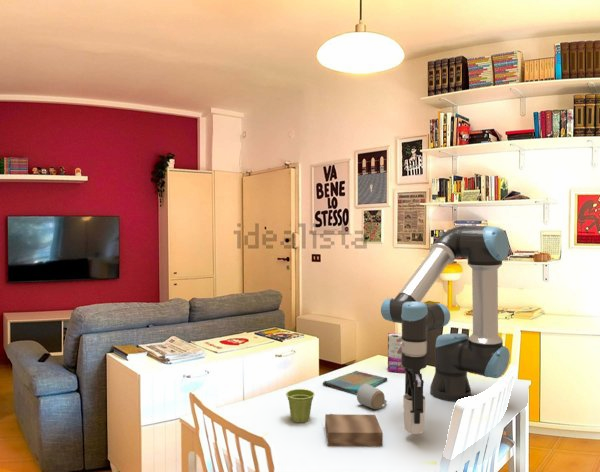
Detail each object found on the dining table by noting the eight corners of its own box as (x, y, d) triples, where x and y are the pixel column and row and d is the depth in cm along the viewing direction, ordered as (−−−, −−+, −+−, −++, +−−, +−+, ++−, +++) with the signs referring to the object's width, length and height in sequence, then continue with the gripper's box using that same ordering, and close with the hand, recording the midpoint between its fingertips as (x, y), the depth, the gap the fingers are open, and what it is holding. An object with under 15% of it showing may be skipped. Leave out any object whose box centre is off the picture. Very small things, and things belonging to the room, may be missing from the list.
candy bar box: (412, 370, 229) (413, 333, 228) (413, 373, 224) (414, 336, 223) (387, 368, 230) (387, 332, 230) (387, 372, 226) (388, 334, 225)
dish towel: (321, 387, 206) (321, 380, 206) (354, 373, 224) (354, 368, 224) (356, 397, 195) (356, 390, 195) (388, 382, 213) (388, 376, 213)
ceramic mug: (372, 412, 178) (372, 391, 178) (356, 405, 184) (356, 385, 184) (391, 406, 185) (392, 386, 185) (375, 400, 191) (376, 380, 191)
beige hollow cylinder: (411, 435, 153) (411, 402, 152) (398, 427, 159) (398, 395, 158) (429, 431, 156) (430, 399, 155) (416, 423, 162) (416, 391, 161)
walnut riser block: (374, 426, 166) (375, 414, 166) (382, 446, 152) (382, 432, 152) (325, 426, 166) (325, 414, 165) (328, 445, 152) (328, 432, 151)
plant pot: (293, 427, 165) (294, 400, 165) (281, 416, 173) (281, 391, 173) (319, 421, 169) (319, 395, 169) (305, 412, 178) (306, 387, 177)
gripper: (395, 345, 165) (395, 416, 167) (408, 362, 147) (408, 442, 148) (418, 345, 166) (418, 416, 167) (435, 362, 147) (434, 442, 148)
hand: (413, 428), depth 157 cm, fingers closed on beige hollow cylinder, 6 cm apart
